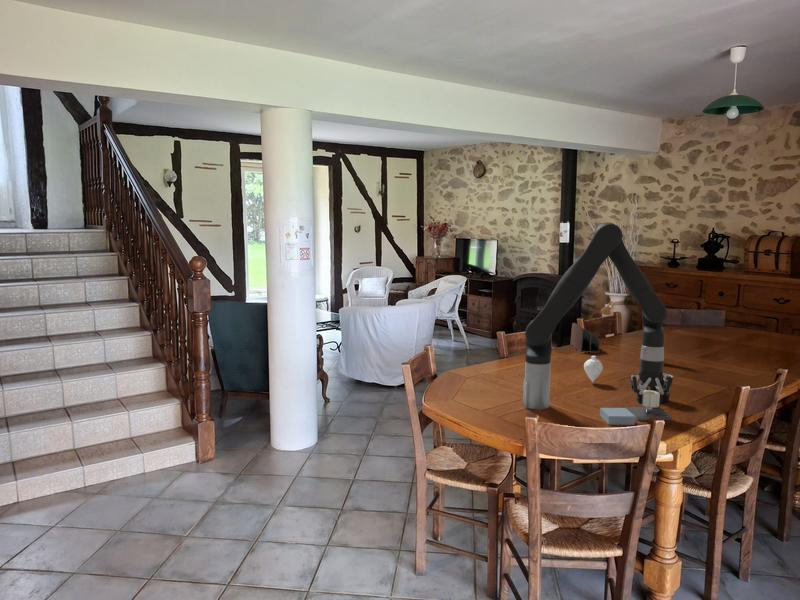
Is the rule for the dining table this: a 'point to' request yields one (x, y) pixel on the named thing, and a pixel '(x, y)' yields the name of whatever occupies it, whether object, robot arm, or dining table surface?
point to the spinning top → (593, 368)
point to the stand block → (617, 416)
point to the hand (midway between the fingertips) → (649, 403)
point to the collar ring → (650, 398)
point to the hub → (648, 413)
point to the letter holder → (584, 339)
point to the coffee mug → (665, 395)
